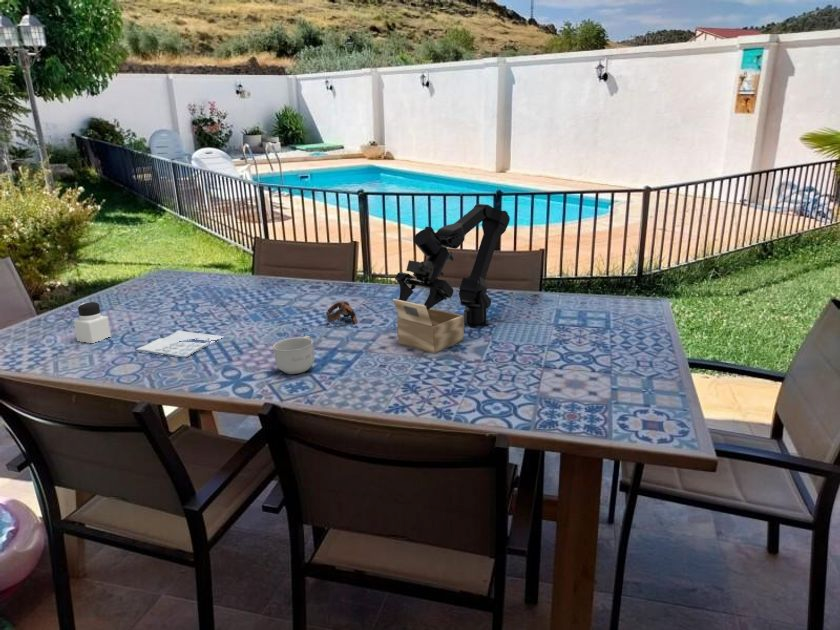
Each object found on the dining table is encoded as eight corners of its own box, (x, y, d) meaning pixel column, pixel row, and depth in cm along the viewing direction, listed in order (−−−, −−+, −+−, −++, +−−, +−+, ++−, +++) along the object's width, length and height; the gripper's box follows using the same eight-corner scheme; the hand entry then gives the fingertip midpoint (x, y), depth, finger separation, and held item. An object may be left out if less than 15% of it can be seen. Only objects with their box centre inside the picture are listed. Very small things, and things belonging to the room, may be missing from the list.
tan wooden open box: (428, 331, 203) (427, 307, 201) (465, 340, 194) (465, 315, 192) (397, 343, 193) (396, 318, 191) (434, 353, 184) (434, 327, 181)
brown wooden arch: (357, 328, 209) (344, 309, 206) (334, 339, 212) (320, 320, 208) (362, 309, 220) (349, 291, 216) (339, 320, 222) (326, 302, 219)
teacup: (296, 380, 167) (294, 352, 164) (266, 372, 172) (264, 345, 170) (330, 363, 178) (328, 336, 176) (301, 356, 183) (299, 330, 181)
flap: (393, 298, 186) (392, 299, 186) (425, 305, 178) (424, 306, 178) (400, 317, 190) (399, 318, 190) (432, 325, 182) (431, 326, 182)
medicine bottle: (111, 337, 204) (105, 301, 200) (92, 344, 197) (85, 307, 194) (96, 334, 206) (90, 299, 203) (76, 341, 200) (70, 305, 197)
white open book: (134, 354, 190) (133, 347, 189) (180, 333, 208) (179, 327, 207) (186, 361, 184) (185, 354, 183) (229, 339, 202) (228, 332, 201)
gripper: (397, 245, 188) (373, 289, 184) (446, 253, 176) (421, 300, 172) (416, 266, 196) (393, 308, 192) (464, 274, 184) (440, 320, 180)
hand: (411, 309), depth 183 cm, fingers open, 9 cm apart
